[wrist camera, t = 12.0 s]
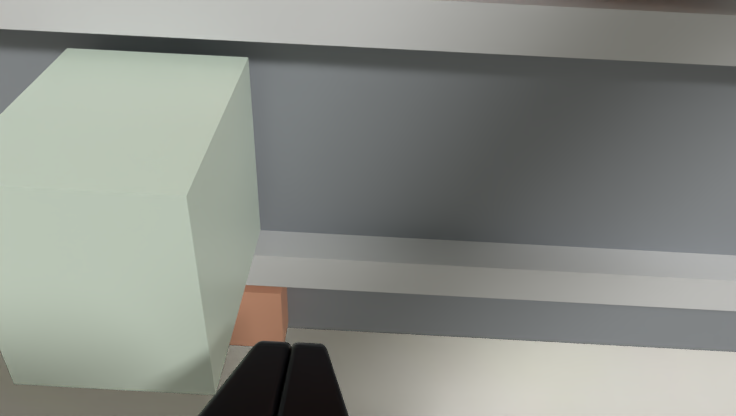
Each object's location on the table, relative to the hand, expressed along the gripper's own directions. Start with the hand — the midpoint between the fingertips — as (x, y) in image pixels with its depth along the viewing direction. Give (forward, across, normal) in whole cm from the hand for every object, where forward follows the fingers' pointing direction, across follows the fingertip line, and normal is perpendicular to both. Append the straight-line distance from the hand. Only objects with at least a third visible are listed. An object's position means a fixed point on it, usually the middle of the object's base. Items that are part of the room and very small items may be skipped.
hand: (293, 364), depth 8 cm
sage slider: (+5, +3, 0) cm, 5 cm away
